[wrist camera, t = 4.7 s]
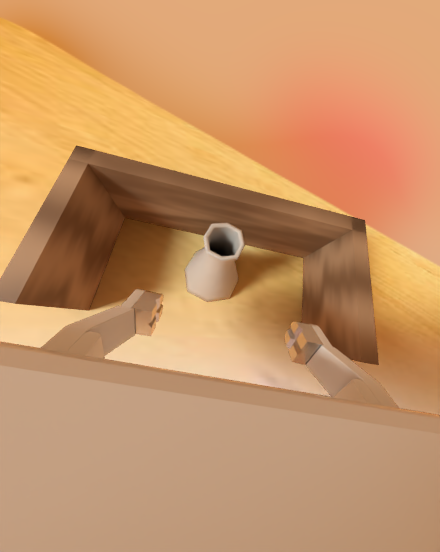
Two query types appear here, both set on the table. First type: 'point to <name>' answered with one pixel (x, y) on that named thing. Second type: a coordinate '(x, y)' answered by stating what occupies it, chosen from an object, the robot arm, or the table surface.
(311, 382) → the table surface
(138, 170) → the u-shaped enclosure
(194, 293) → the flask
